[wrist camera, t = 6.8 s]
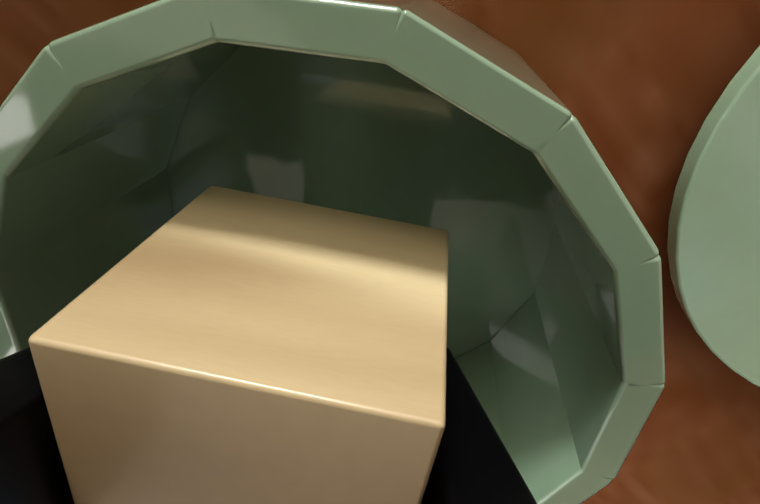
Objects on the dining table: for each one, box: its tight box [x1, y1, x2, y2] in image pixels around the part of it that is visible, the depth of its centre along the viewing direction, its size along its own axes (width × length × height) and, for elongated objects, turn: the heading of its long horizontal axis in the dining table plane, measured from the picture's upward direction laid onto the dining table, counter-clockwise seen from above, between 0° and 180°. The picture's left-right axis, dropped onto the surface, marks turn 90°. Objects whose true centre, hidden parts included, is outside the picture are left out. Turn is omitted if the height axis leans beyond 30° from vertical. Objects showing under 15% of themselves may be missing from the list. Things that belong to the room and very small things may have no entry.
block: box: [28, 186, 449, 504], centre depth 8 cm, size 4×4×4 cm
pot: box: [0, 0, 665, 504], centre depth 11 cm, size 11×11×6 cm
